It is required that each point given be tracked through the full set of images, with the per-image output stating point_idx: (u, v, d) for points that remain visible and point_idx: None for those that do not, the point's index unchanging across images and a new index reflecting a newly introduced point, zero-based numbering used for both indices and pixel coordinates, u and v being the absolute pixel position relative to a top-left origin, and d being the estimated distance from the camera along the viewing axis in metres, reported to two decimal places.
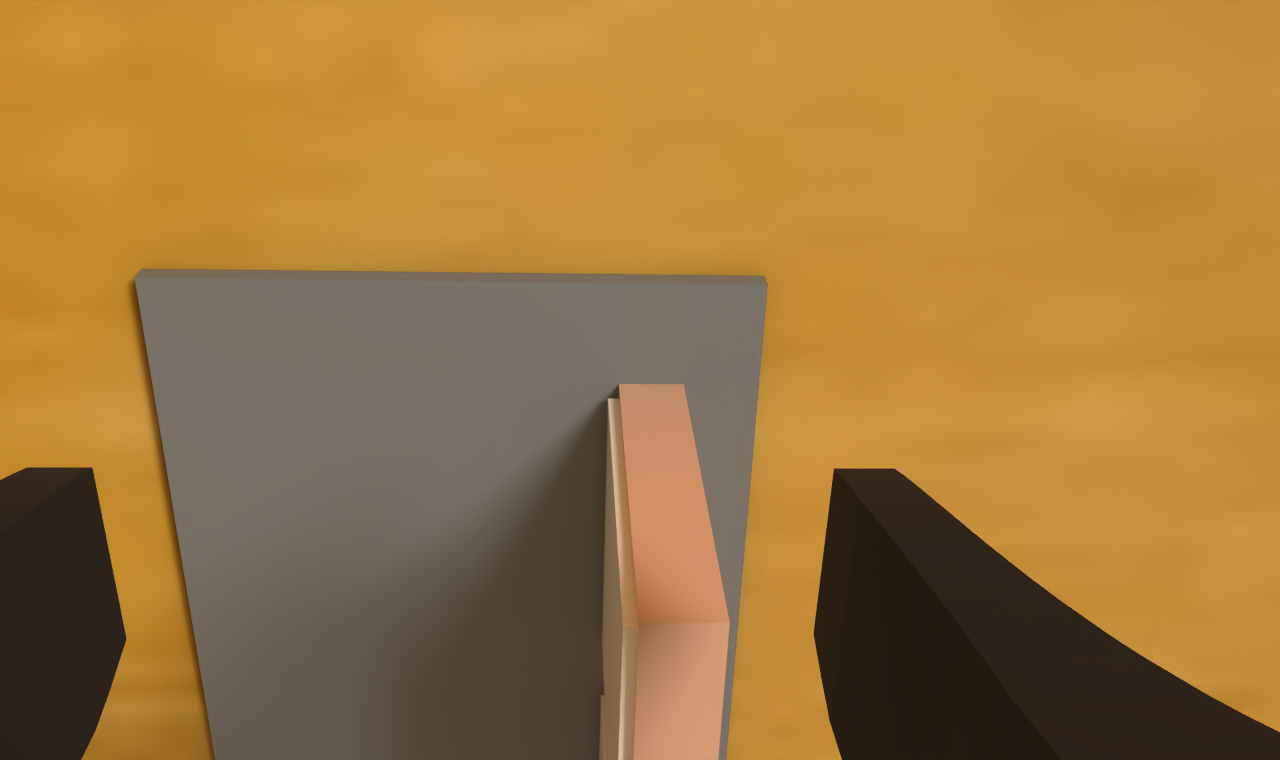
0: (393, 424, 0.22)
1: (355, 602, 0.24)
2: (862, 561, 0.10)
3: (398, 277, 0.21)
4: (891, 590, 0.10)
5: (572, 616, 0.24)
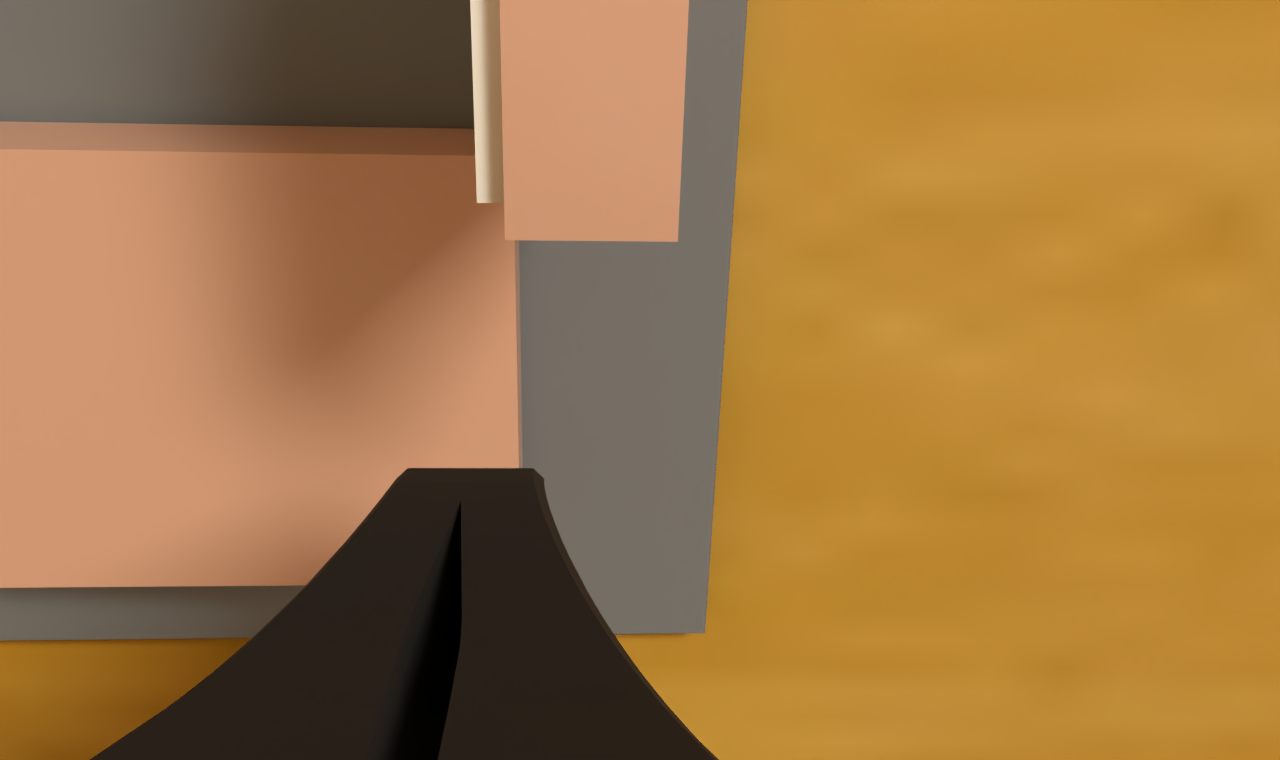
0: None
1: None
2: None
3: None
4: None
5: None
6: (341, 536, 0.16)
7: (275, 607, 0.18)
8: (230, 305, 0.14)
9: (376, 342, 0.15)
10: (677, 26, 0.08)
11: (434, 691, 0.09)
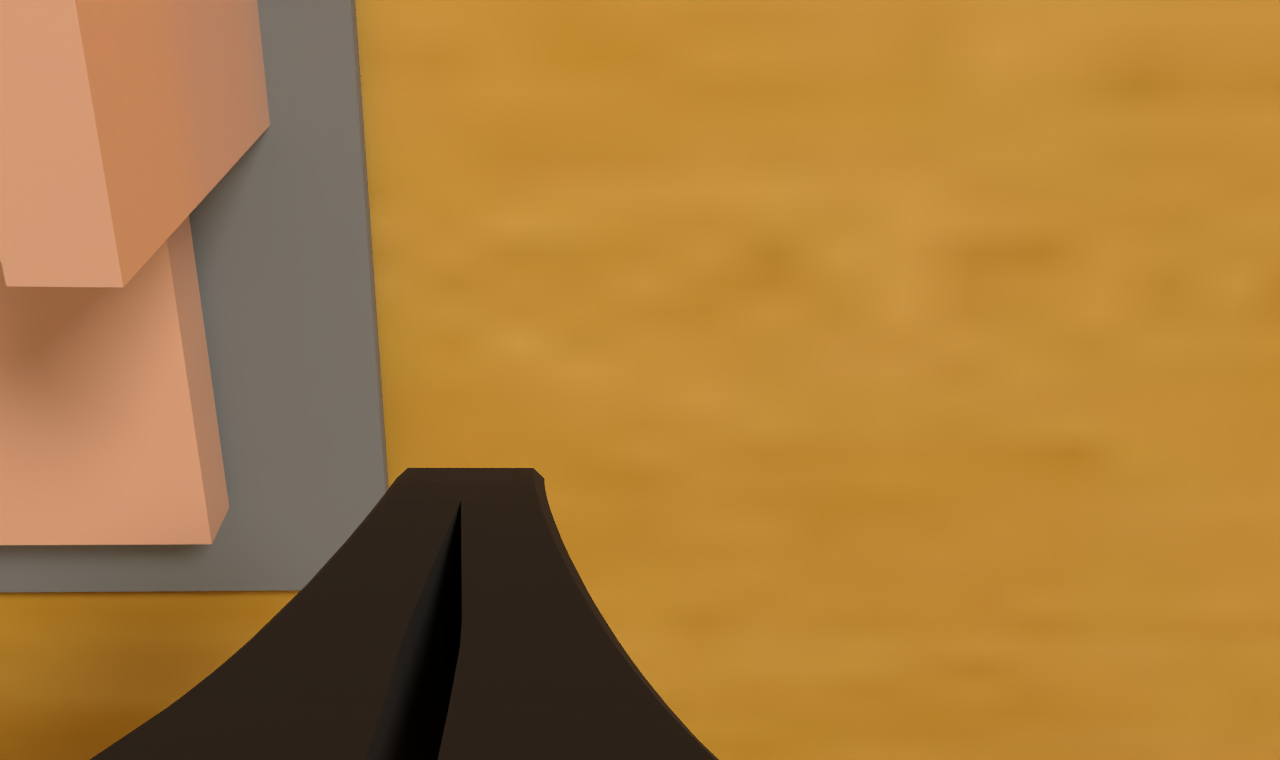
0: None
1: None
2: None
3: None
4: None
5: None
6: (63, 505, 0.20)
7: (35, 567, 0.22)
8: None
9: (73, 352, 0.19)
10: (92, 152, 0.12)
11: (434, 691, 0.09)
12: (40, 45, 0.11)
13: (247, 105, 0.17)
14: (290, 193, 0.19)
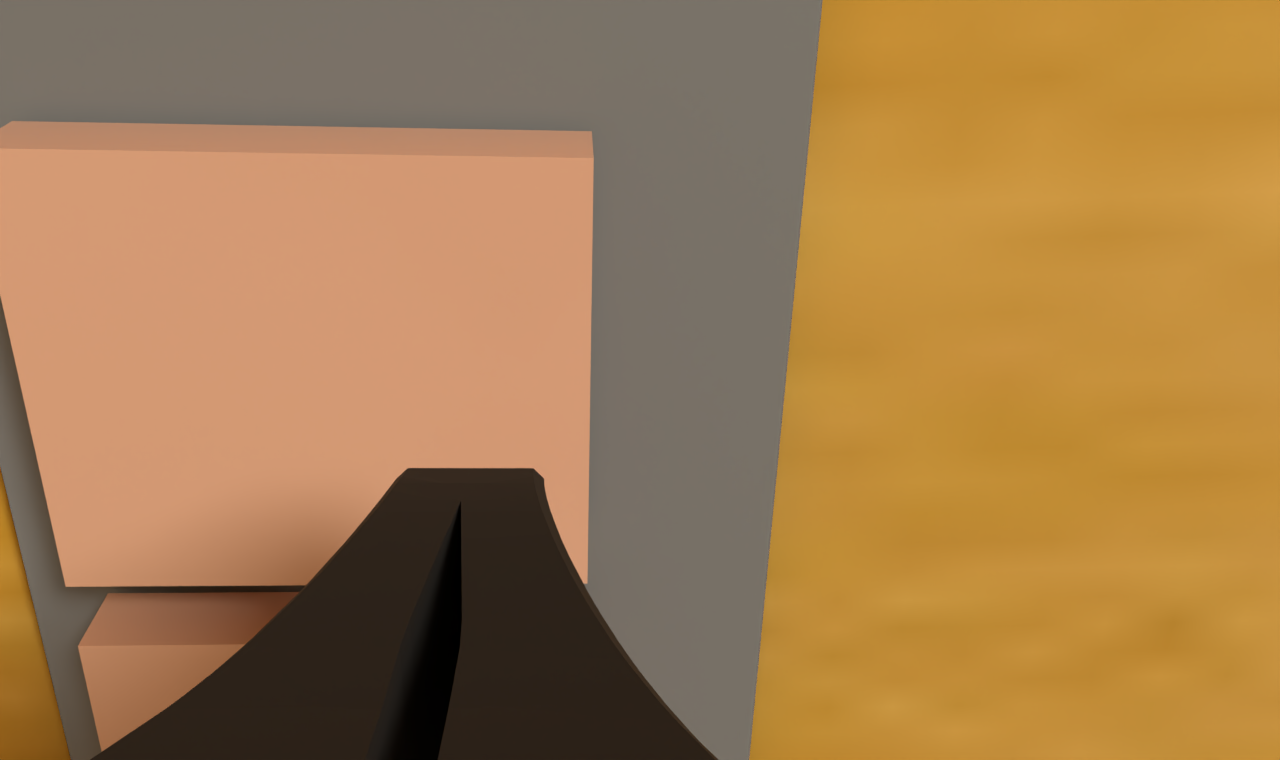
0: None
1: None
2: None
3: None
4: None
5: None
6: None
7: None
8: None
9: None
10: (45, 491, 0.15)
11: (434, 691, 0.09)
12: None
13: None
14: (688, 588, 0.18)
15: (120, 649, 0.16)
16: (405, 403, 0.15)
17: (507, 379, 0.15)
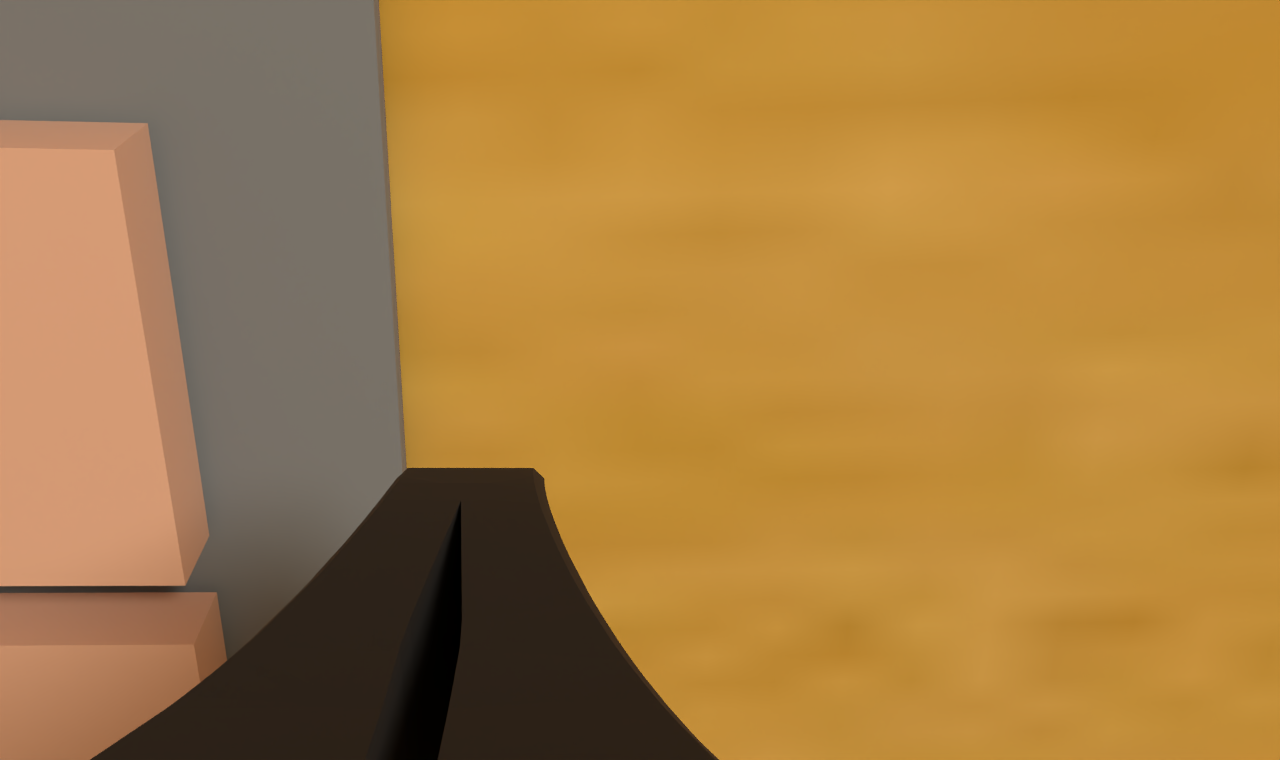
0: None
1: None
2: None
3: None
4: None
5: None
6: None
7: None
8: None
9: None
10: None
11: (434, 691, 0.09)
12: None
13: (82, 548, 0.16)
14: None
15: None
16: None
17: (64, 376, 0.15)
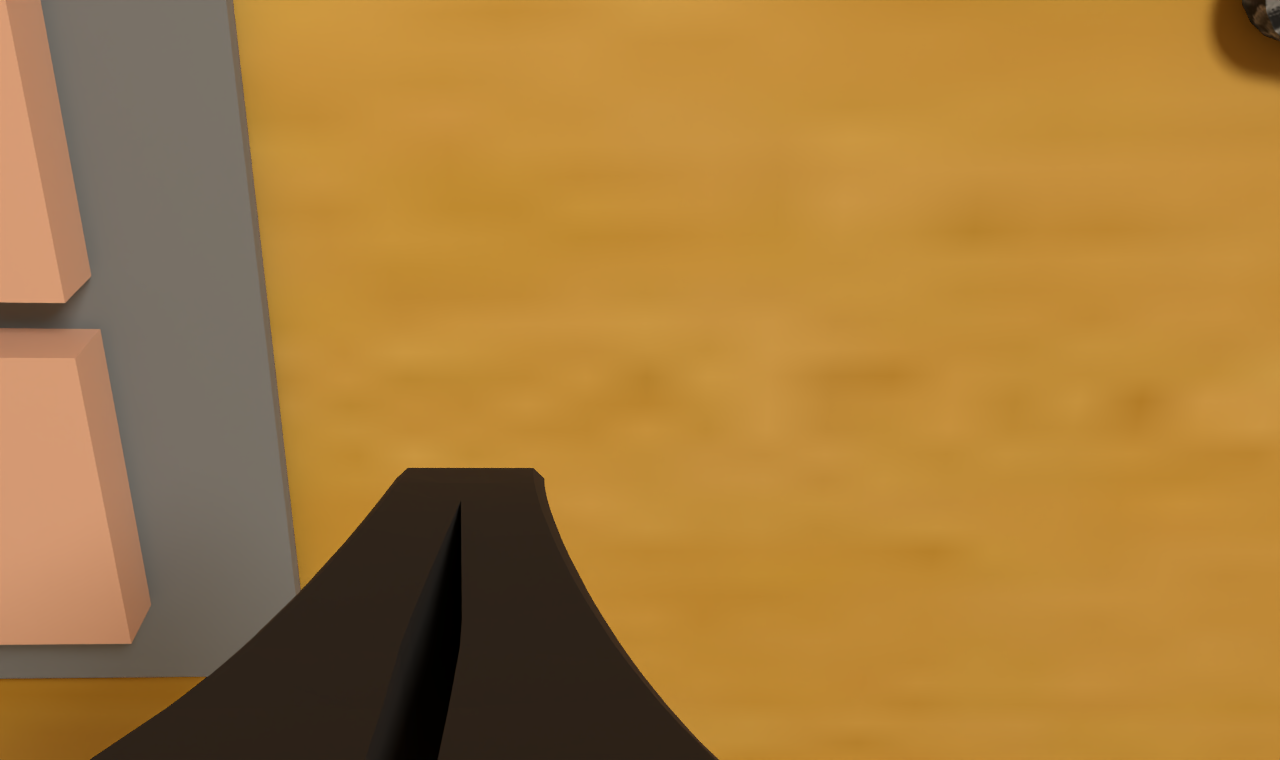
0: None
1: None
2: None
3: None
4: None
5: None
6: None
7: None
8: None
9: None
10: None
11: (434, 691, 0.09)
12: None
13: None
14: (197, 331, 0.21)
15: None
16: None
17: None
